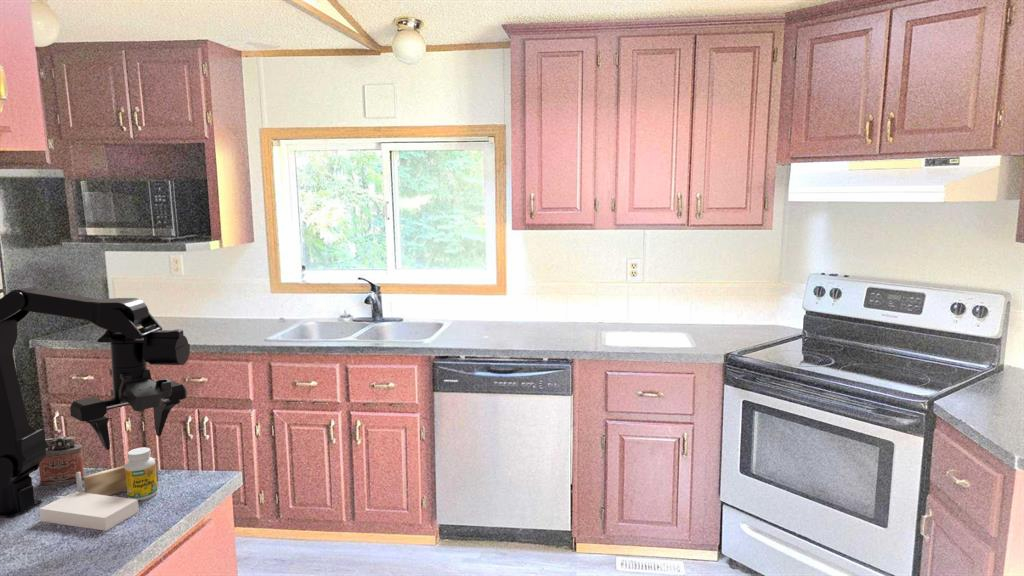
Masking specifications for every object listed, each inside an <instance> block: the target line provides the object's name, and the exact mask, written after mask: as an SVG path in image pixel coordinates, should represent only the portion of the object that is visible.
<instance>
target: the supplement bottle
mask: <svg viewBox="0 0 1024 576" xmlns="http://www.w3.org/2000/svg"><path fill="white" fill-rule="evenodd" d="M151 454H152V452H151V448H150V447H145V446H144V447H143V446H142V447H136V448H134V449H131V450H129V451H128V452H127V460H128V461H127V462H126V463H125V474H126V485H127V490H126V495H127V498H129V499H136V500H138V501H139V500H140V501H145V500H149V499H150V498H153V497H154V496H156V495H157V493H158V491H159V489H158V481H157V477H156V465H155V460H154V459H153V458H154V457H152V456H151Z"/></svg>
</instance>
